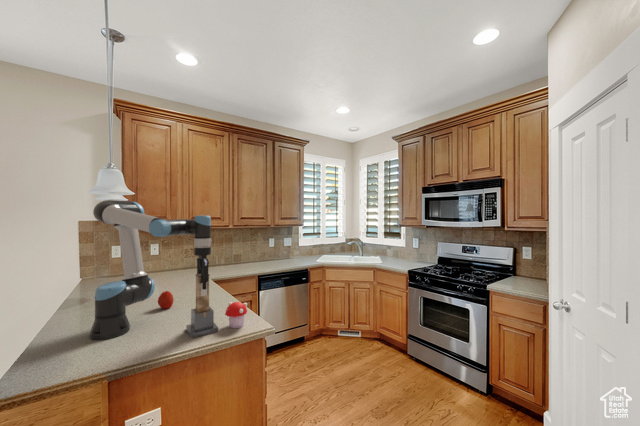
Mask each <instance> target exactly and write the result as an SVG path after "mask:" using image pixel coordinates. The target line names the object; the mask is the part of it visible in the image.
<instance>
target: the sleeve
mask: <svg viewBox="0 0 640 426" xmlns="http://www.w3.org/2000/svg"><path fill="white" fill-rule="evenodd" d="M214 313H215V311H214V310H213V309H212V307H211V306H210V305H209V311H205V312H200V313H196V307H195V308H191V309H190V324H187V325H185V327H186V331H187V333H188V335H189V337H190V338H191V339H194V338H198V337H201V336H206V335H210V334H213V333H214V334H215V333H218V332H219V327H218V326H217V324H216V323H215V322H214V317H215V315H214Z"/></svg>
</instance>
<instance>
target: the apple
mask: <svg viewBox="0 0 640 426" xmlns="http://www.w3.org/2000/svg"><path fill="white" fill-rule="evenodd" d="M157 304H158V306H159V308H161V309H164V310H168V309H171V308H172V306H173V304H174V295H173V294H172V292H171V291H168V290H166V291H162V293H160V295H159V296H158V299H157Z"/></svg>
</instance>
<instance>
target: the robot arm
mask: <svg viewBox="0 0 640 426" xmlns="http://www.w3.org/2000/svg"><path fill="white" fill-rule="evenodd" d="M92 211H93V212H92V213H93V214H92V215H93V217H94V218H95V219H96V220H97V221H98V222H100V223H103V224H108V225H113V227H114V229H116V230H117V231H118V238H119V244H120V251H121V252H120V253H121V260H122V267H123V273H124V276H122V278H121V280H115V281H109V282H107V283H104V284H101V285H99V286H98V287H96V289H95V293H94V321H93V324H92V326H91V329H90V331H89V338H90V340H96V341H101V340H109V339H112V338H116V337H119V336H122V335H124V334H127V333H128V332H129V331H130V329H131V324H130V322H129V319H128V317H127V316H128V315H126V313H127V312H126V307H128V306H130V305H131V306H132V305H133V304H137V303H140V302H143V301H145V300H147V299H149V298H150V297H152V296H153V294H154V292H155V289H156V288H155V286H156V284H155V281H154V279H153V278H151V277H149V274H148V273H147V272H145V268H144V261H143V255H142V248H141V243H140V242H141V241H140V234H139V233H140V232H139V231H142V232H146V233H149V234H151V236H153V237H155V238H157V237H159V238H163V237H170V236H171V237H172V236H184V235H191V236H192V235H194V236H193V237H194V238H193V246H194V248H193V251H194V254H193V255H194V256H195V257H196V256H197V258H196V274H200V273H201V282H200V283H201V296H207V282H208V281H209V282H210V279H209V280H208V274H209V263H210V261H209V260H208V258H207V256H210V255H211V254H212V247H211V245H212V241H213V239H212V234H211V233H212V217H211V216H210V215H195V216H194V217H193V219H189V218H188V219H187V218H186V219H184V218H181V219H179V218H178V219H164V218H161V217H157V216H155V215H154V216H153V215H150V214H146V213H145V210H144V207H143V206H142V205H141V204H140V203H139V202H136V201H132V200H115V199H114V200H113V199H107V200H102V201H99V202H98V203H97V204H96V205H95V206H94V207H93V210H92Z"/></svg>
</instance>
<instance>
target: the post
mask: <svg viewBox="0 0 640 426" xmlns="http://www.w3.org/2000/svg"><path fill="white" fill-rule="evenodd" d="M208 280H209V281H208V282H207V296H201V283H200V282H201V273H200V274H197V273H195V308H196V313H200V312H205V311H209V306H210V274H209V273H208Z"/></svg>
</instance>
